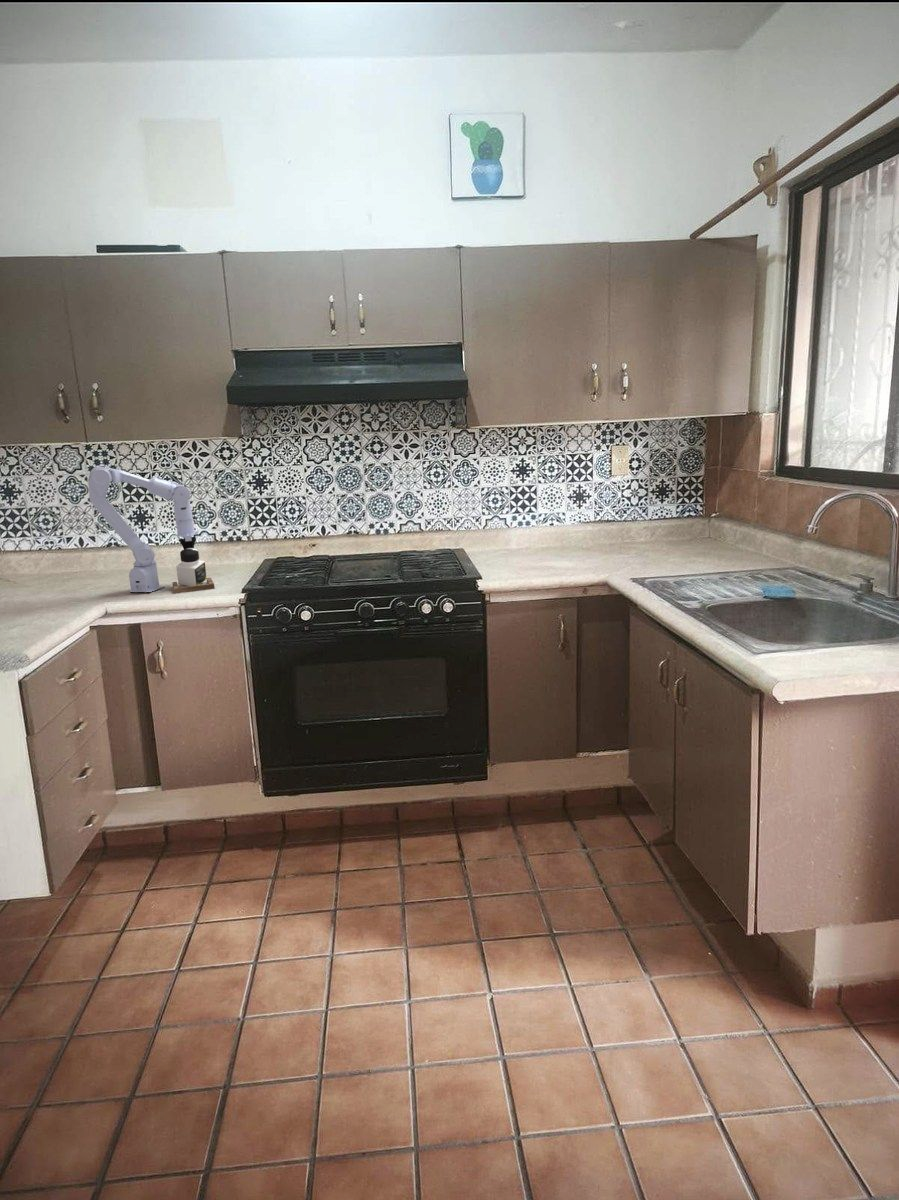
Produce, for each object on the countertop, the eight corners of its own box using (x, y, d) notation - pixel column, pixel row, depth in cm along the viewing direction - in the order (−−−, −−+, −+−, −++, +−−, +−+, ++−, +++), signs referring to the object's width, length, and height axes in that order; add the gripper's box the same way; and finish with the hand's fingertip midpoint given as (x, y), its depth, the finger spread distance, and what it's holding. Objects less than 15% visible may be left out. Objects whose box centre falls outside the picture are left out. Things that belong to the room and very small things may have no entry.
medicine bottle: (196, 587, 266) (193, 555, 261) (178, 584, 267) (174, 552, 262) (207, 579, 272) (203, 547, 267) (188, 576, 274) (184, 545, 269)
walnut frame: (172, 586, 269) (172, 582, 268) (211, 581, 273) (210, 577, 273) (174, 593, 257) (173, 589, 257) (214, 588, 262) (214, 584, 262)
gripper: (198, 521, 261) (204, 560, 264) (194, 516, 274) (200, 553, 277) (176, 523, 258) (182, 563, 262) (173, 518, 271) (179, 556, 275)
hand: (190, 558), depth 269 cm, fingers closed, pressing on medicine bottle
